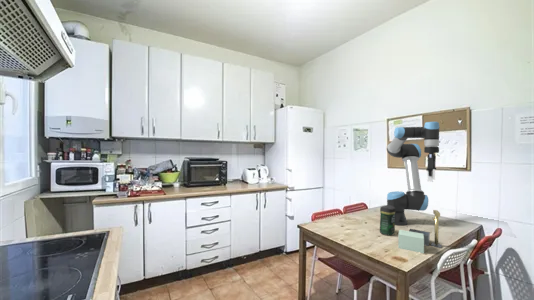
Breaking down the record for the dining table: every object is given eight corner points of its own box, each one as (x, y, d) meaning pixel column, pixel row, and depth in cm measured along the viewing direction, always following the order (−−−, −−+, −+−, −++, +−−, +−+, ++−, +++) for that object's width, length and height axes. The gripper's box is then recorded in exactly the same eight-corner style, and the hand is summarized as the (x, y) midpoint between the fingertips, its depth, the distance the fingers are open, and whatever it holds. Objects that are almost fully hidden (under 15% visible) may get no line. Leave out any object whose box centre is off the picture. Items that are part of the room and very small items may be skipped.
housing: (408, 241, 139) (408, 231, 139) (410, 238, 144) (410, 228, 144) (440, 248, 129) (441, 238, 129) (441, 245, 134) (441, 234, 134)
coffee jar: (390, 236, 146) (390, 207, 146) (377, 233, 153) (378, 205, 152) (397, 233, 152) (397, 205, 152) (384, 230, 158) (385, 203, 158)
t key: (432, 240, 138) (432, 209, 138) (436, 241, 137) (437, 209, 137) (435, 245, 130) (435, 212, 130) (440, 246, 129) (440, 213, 129)
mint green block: (398, 248, 130) (398, 234, 130) (399, 242, 137) (399, 229, 137) (423, 253, 123) (424, 238, 123) (423, 247, 131) (423, 233, 131)
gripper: (437, 146, 131) (437, 183, 131) (440, 146, 150) (440, 178, 150) (421, 146, 136) (421, 181, 136) (426, 146, 155) (426, 178, 155)
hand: (431, 180), depth 143 cm, fingers open, 13 cm apart
